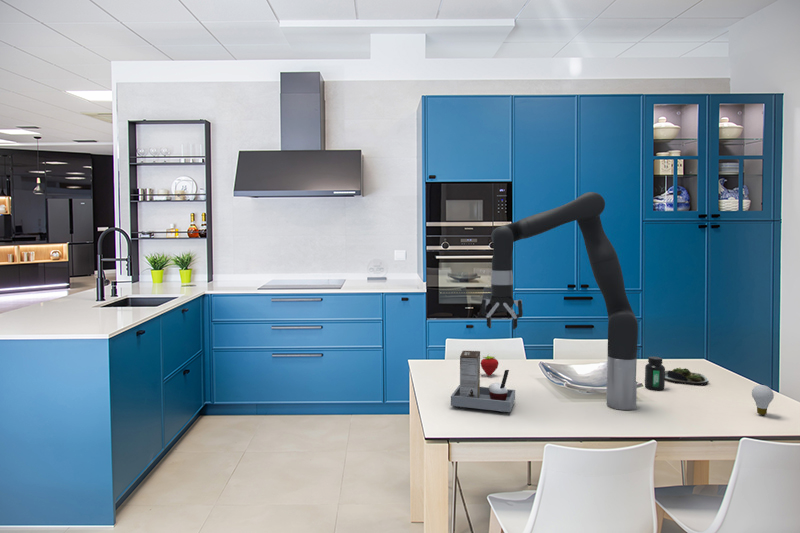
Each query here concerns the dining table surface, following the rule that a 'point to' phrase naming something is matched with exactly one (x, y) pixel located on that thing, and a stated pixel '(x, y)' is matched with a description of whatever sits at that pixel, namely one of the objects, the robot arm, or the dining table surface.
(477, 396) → the coffee box
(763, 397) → the light bulb
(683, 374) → the salad plate
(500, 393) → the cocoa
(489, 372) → the strawberry
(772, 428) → the dining table surface
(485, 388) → the tray
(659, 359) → the supplement bottle
